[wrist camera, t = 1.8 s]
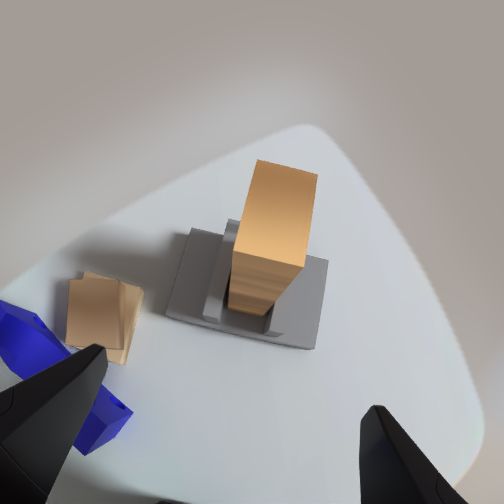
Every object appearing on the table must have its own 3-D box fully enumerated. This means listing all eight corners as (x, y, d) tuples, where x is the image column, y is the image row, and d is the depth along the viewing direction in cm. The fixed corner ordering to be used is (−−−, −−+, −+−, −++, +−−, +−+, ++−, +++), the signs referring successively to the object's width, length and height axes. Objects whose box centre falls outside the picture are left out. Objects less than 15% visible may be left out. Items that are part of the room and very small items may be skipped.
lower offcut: (127, 364, 22) (119, 364, 20) (75, 344, 21) (64, 342, 20) (146, 293, 24) (140, 287, 22) (94, 277, 24) (85, 270, 22)
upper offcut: (124, 349, 20) (116, 348, 18) (76, 346, 20) (66, 344, 18) (125, 285, 22) (118, 279, 20) (79, 285, 21) (70, 279, 20)
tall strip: (261, 317, 22) (304, 267, 11) (227, 309, 22) (233, 250, 11) (272, 265, 23) (317, 174, 12) (240, 258, 23) (257, 159, 12)
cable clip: (13, 350, 20) (-29, 342, 14) (37, 314, 21) (-3, 298, 16) (105, 448, 18) (74, 469, 13) (134, 412, 20) (107, 426, 14)
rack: (308, 350, 23) (327, 346, 18) (168, 317, 23) (156, 307, 18) (323, 266, 25) (342, 246, 21) (193, 235, 25) (187, 209, 21)
